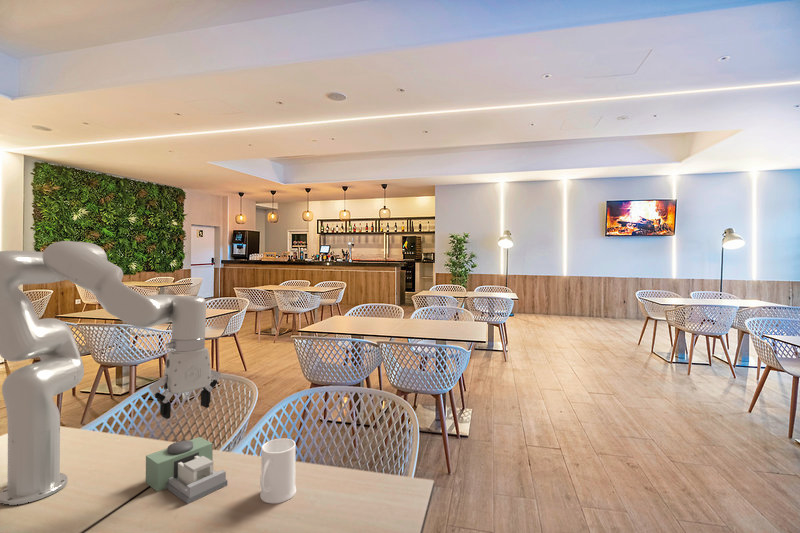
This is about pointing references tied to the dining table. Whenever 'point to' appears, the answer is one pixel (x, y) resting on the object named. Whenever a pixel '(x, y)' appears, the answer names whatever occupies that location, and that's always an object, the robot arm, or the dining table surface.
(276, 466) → the mug
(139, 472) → the dining table surface
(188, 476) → the white box on legs
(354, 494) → the dining table surface
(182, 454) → the toy coffee machine
